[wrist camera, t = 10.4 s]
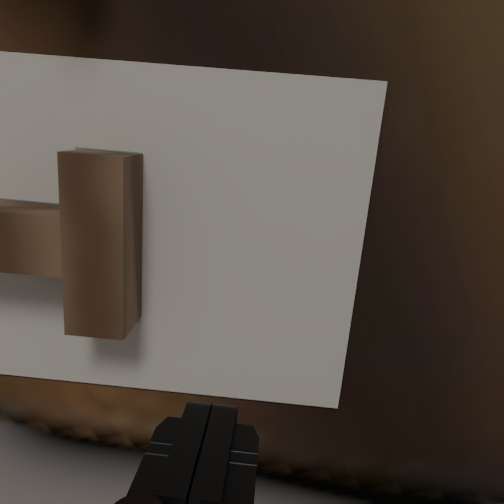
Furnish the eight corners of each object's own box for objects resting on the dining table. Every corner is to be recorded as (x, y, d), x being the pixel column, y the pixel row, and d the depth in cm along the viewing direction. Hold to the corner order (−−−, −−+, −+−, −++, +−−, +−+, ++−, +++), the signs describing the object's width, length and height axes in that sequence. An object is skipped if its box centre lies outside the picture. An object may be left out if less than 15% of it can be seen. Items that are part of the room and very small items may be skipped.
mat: (386, 81, 28) (387, 81, 28) (337, 406, 34) (337, 408, 34) (-100, 44, 29) (-103, 43, 29) (-59, 366, 35) (-61, 367, 35)
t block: (143, 153, 30) (123, 157, 26) (141, 316, 33) (123, 340, 29) (-29, 139, 30) (-74, 140, 26) (-14, 301, 33) (-52, 323, 29)
